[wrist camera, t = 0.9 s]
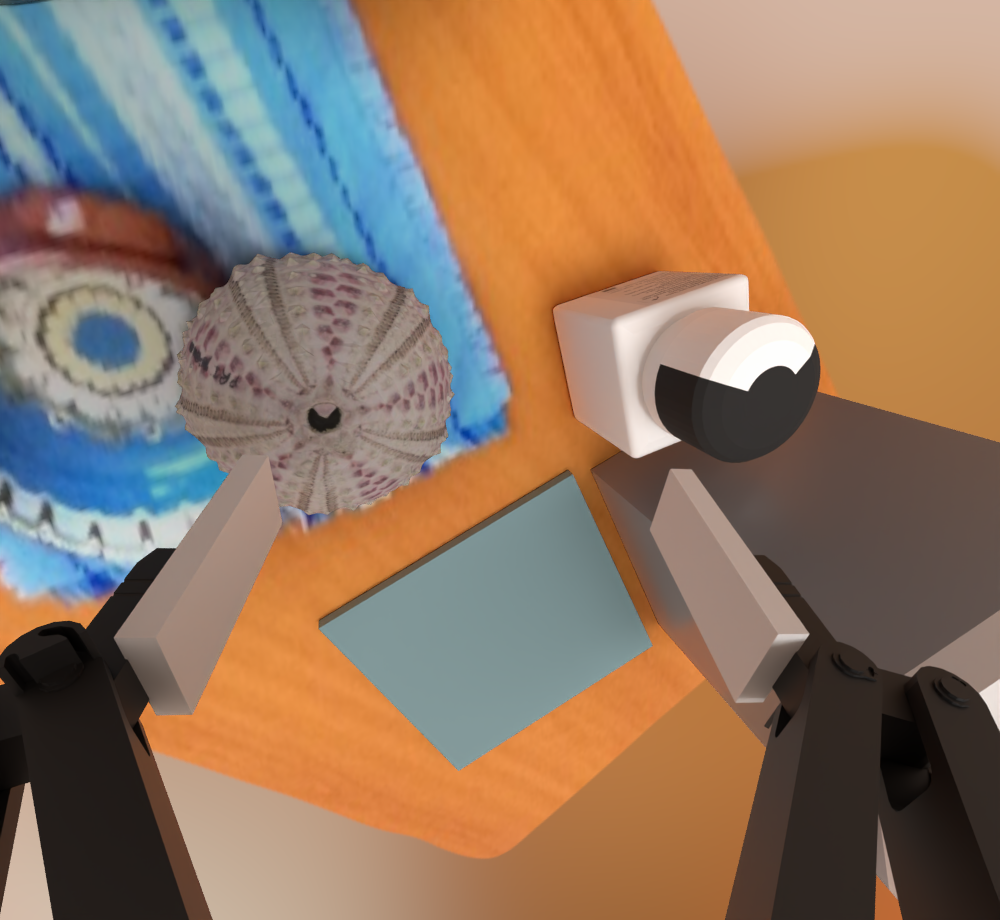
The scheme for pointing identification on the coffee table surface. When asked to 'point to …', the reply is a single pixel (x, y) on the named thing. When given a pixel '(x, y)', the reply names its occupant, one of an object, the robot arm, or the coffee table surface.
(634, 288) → the container
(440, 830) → the coffee table surface
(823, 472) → the stand
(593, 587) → the mat
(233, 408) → the sea urchin shell
